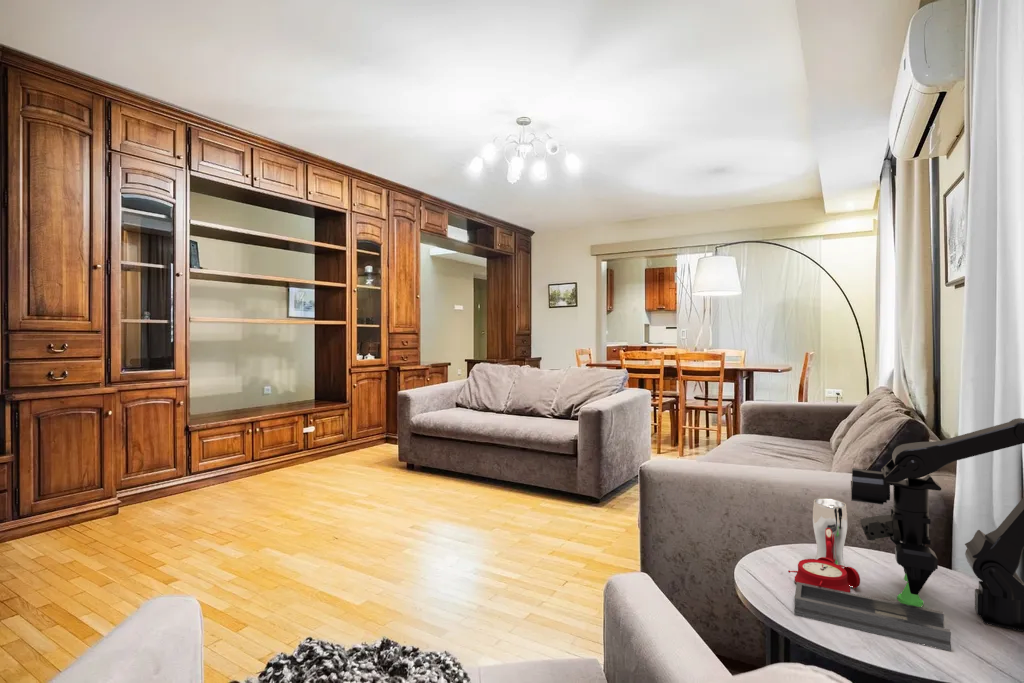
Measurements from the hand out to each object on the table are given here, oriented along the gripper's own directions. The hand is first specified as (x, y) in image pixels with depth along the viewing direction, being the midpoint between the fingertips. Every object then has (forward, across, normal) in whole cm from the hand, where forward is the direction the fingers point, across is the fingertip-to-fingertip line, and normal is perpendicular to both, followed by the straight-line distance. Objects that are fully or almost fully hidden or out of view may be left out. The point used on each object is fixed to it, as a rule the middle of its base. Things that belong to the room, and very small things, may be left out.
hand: (910, 583), depth 107 cm
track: (+4, +12, -8) cm, 15 cm away
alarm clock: (+4, 0, -15) cm, 15 cm away
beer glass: (+4, -11, -14) cm, 18 cm away
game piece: (+4, 0, 0) cm, 4 cm away
